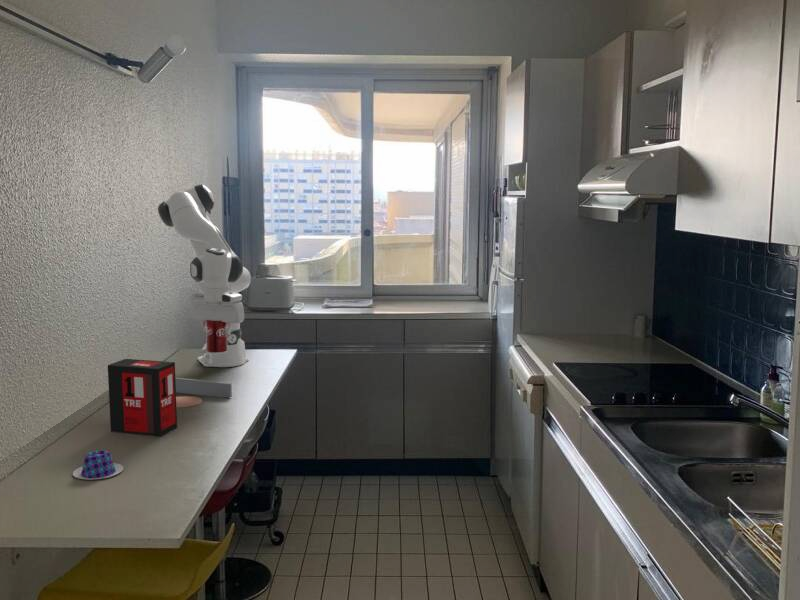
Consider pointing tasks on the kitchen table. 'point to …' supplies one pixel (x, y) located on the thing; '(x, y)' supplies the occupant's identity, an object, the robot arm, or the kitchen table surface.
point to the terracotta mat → (187, 401)
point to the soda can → (216, 336)
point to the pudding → (97, 466)
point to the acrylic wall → (203, 387)
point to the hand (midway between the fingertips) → (217, 333)
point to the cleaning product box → (142, 397)
